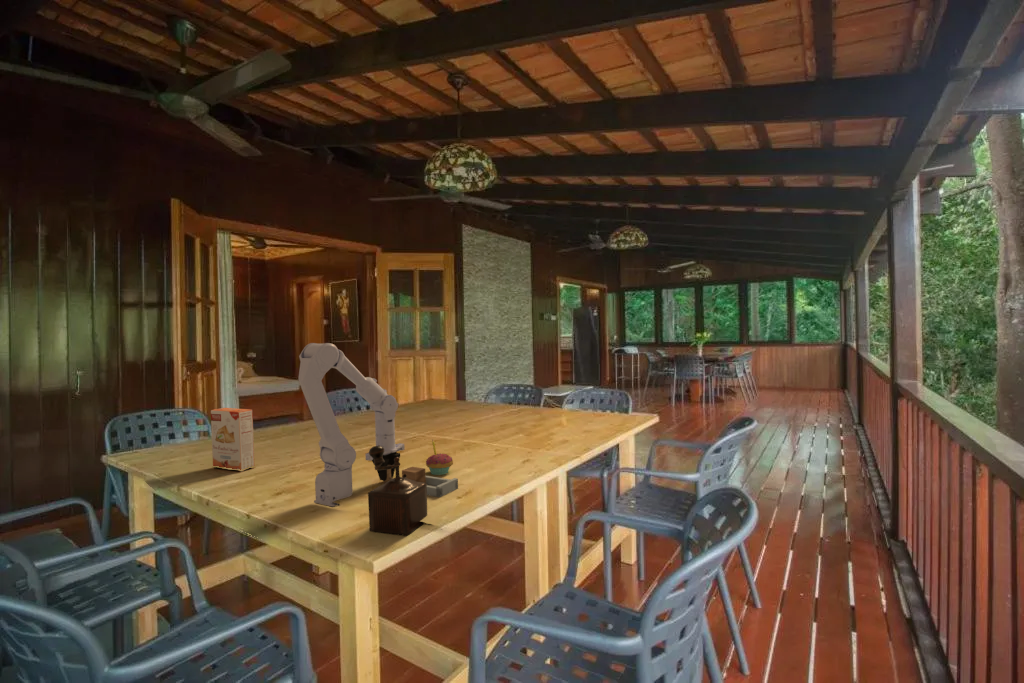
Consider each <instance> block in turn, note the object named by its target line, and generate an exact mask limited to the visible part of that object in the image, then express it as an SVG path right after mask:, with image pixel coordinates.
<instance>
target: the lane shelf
mask: <svg viewBox="0 0 1024 683" xmlns="http://www.w3.org/2000/svg"><path fill="white" fill-rule="evenodd" d="M426 483H427V496H429V497H430V496H431V497H437V498H441V497H444V496H445V495H448V494H449V493H452V492H454V491H455V490H458V489H459V478H456V477H454V478H451V479H449V478H442V477H437V476H431V475H426Z"/></svg>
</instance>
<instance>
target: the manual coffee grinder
mask: <svg viewBox="0 0 1024 683" xmlns="http://www.w3.org/2000/svg"><path fill="white" fill-rule="evenodd" d="M368 451H369V452H368V453H369V455H370V456H371V457H372V458H373V459H374V463H373V465H374V470H375V471H377V470H386V469H392V468H394V467H395V472H394V473H395V477H393V478H394V479H392V480H390V481H388V482H386V483H382V484H381V485H378V486H376V487H375V488H373V489H372V490H370V491H368V493H367V499H368V500H367V502H368V521H369V522H368V524H369V528H368V530H369V532H372V533H377V534H378V533H379V534H384V535H385V534H386V535H391V536H392V535H394V536H404V537H405V536H406V537H407V536H409V535H410V534H412V533H414V532H415V531H416V530H418V529H419V528H420V527H421V526H423V525H424V524H425V522H424V521H422V520H423V519H425V518H426V517H427V516H428V495H427V483H425V482H416V481H415V480H410V479H407V478H406V477H407V475H406V474H404V475H403V477H402V476H400V466H401V463H400V458H399V457H396V458H395V459H394V461H395V463H394V465H391V466H381V465H382V463H384V462H385V461H384V459H383V453H384V448H383V447H382V446H380V445H378V446H376V445H374V446H372V447H371V448H369V450H368ZM375 465H376V466H375ZM379 466H381V467H379Z"/></svg>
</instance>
